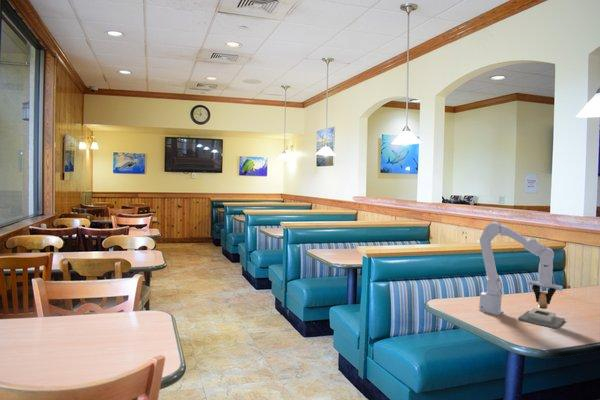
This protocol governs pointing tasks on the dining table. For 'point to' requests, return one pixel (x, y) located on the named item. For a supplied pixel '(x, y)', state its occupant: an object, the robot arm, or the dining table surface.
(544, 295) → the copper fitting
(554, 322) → the flange socket
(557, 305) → the dining table surface
